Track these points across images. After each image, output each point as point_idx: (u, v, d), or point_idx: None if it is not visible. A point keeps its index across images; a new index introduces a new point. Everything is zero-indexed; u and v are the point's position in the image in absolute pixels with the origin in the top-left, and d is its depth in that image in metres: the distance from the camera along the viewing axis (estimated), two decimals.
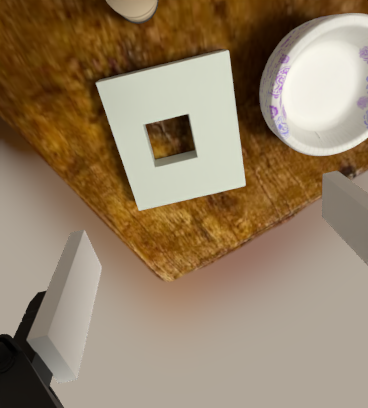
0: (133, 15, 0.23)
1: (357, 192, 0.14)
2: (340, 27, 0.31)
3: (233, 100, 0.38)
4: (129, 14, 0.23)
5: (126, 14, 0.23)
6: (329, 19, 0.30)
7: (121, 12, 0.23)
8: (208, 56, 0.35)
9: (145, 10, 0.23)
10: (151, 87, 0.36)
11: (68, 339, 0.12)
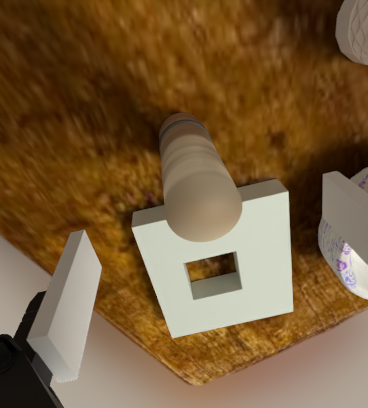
0: (204, 240, 0.18)
1: (357, 192, 0.14)
2: None
3: (288, 237, 0.33)
4: (199, 240, 0.18)
5: (196, 240, 0.18)
6: None
7: (190, 239, 0.18)
8: (264, 198, 0.30)
9: (220, 235, 0.18)
10: None
11: (68, 339, 0.12)
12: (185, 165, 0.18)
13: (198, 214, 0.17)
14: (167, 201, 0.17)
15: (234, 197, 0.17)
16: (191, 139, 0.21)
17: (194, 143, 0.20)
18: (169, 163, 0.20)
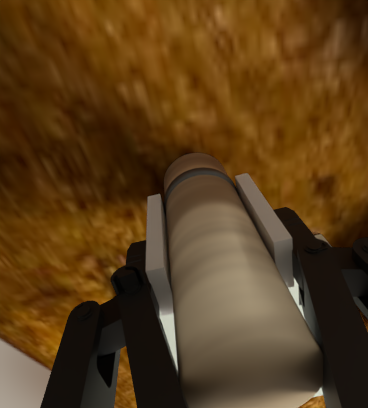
0: None
1: (253, 192, 0.16)
2: None
3: None
4: None
5: None
6: None
7: None
8: None
9: None
10: None
11: (170, 277, 0.13)
12: (217, 291, 0.09)
13: (243, 390, 0.09)
14: (184, 376, 0.08)
15: (314, 363, 0.09)
16: (218, 214, 0.13)
17: (225, 226, 0.12)
18: (184, 265, 0.11)
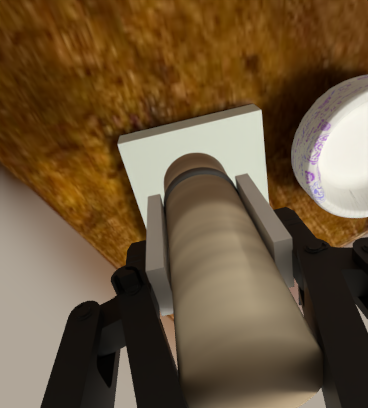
0: None
1: (253, 192, 0.16)
2: None
3: (263, 158, 0.35)
4: None
5: None
6: None
7: None
8: (239, 116, 0.33)
9: None
10: (176, 148, 0.34)
11: (170, 277, 0.13)
12: (217, 291, 0.09)
13: (243, 390, 0.09)
14: (184, 376, 0.08)
15: (314, 363, 0.09)
16: (218, 213, 0.13)
17: (225, 226, 0.12)
18: (184, 265, 0.11)
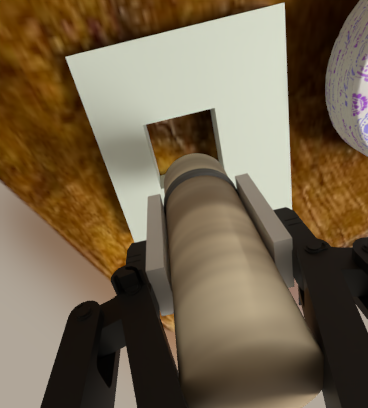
0: None
1: (253, 192, 0.16)
2: None
3: (285, 87, 0.24)
4: None
5: None
6: None
7: None
8: (250, 13, 0.21)
9: None
10: (156, 65, 0.22)
11: (170, 277, 0.13)
12: (217, 293, 0.09)
13: (243, 392, 0.09)
14: (185, 378, 0.08)
15: (315, 365, 0.09)
16: (218, 215, 0.13)
17: (225, 227, 0.12)
18: (184, 266, 0.11)
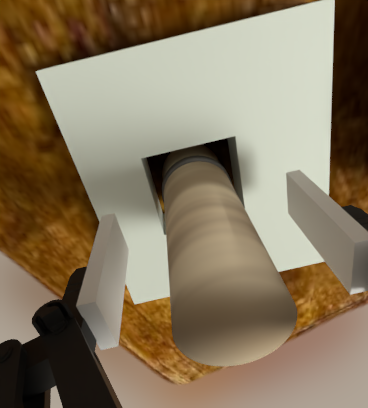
0: (233, 363, 0.12)
1: (313, 189, 0.15)
2: None
3: (328, 109, 0.18)
4: (226, 364, 0.12)
5: (220, 365, 0.11)
6: None
7: (210, 363, 0.11)
8: (288, 11, 0.16)
9: (258, 357, 0.11)
10: (158, 82, 0.17)
11: (110, 309, 0.13)
12: (204, 249, 0.11)
13: (226, 331, 0.11)
14: (176, 316, 0.10)
15: (285, 307, 0.10)
16: (209, 192, 0.15)
17: (214, 201, 0.14)
18: (178, 233, 0.13)
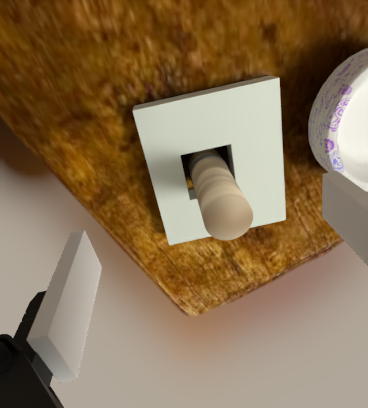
0: (227, 239, 0.28)
1: (357, 192, 0.14)
2: None
3: (280, 130, 0.35)
4: (224, 238, 0.28)
5: (222, 239, 0.27)
6: None
7: (218, 238, 0.27)
8: (256, 84, 0.32)
9: (238, 236, 0.27)
10: (192, 116, 0.33)
11: (68, 339, 0.12)
12: (216, 190, 0.27)
13: (224, 221, 0.27)
14: (205, 212, 0.26)
15: (248, 211, 0.26)
16: (217, 170, 0.31)
17: (220, 174, 0.30)
18: (204, 187, 0.29)
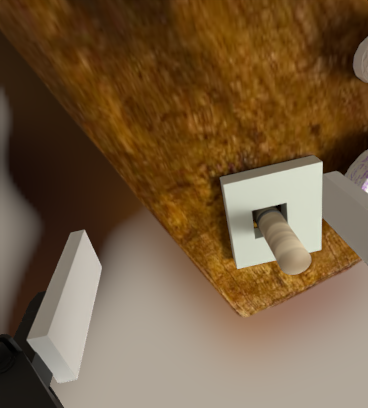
0: (294, 274, 0.43)
1: (357, 192, 0.14)
2: None
3: (320, 193, 0.50)
4: (292, 274, 0.43)
5: (290, 274, 0.43)
6: None
7: (288, 273, 0.43)
8: (307, 165, 0.48)
9: (300, 272, 0.43)
10: (262, 186, 0.49)
11: (68, 339, 0.12)
12: (287, 243, 0.43)
13: (293, 264, 0.43)
14: (282, 259, 0.42)
15: (308, 257, 0.42)
16: (282, 226, 0.47)
17: (285, 229, 0.46)
18: (275, 239, 0.45)
